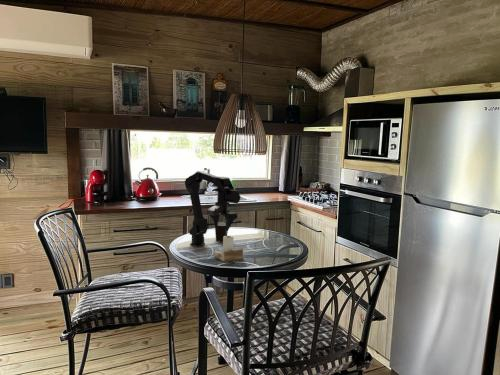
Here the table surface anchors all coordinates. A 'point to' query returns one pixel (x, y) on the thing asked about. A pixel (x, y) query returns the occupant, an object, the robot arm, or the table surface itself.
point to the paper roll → (227, 243)
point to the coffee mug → (220, 231)
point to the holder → (229, 255)
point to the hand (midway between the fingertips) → (221, 228)
